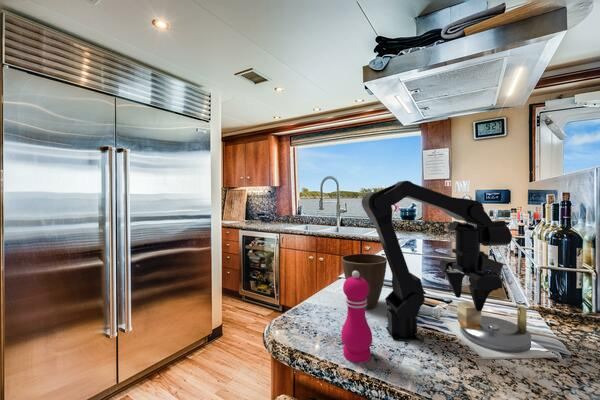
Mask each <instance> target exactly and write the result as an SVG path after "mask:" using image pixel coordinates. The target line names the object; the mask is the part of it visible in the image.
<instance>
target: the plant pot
mask: <svg viewBox="0 0 600 400" xmlns="http://www.w3.org/2000/svg"><path fill="white" fill-rule="evenodd" d="M341 263H342V269H343V273H344V274H343V275H344V277H345V281H346V280H347V279H348V278H350V277H353V276H352V272H353V271H358V272H359V274H360V276H359V277H361V278H363V279H364V280H365V281H366V282H367V283H368V285H369V294H368V295H367V296H366V298H367V306H365V310H372V309H375V308H376V307H377V305H378V302H379V300H380V296H381V295H382V289H383V286H384V282H385V276H386V273H387V272H386V271H387V265H388V261H387V258H386V256H383V255H379V254H378V255H377V254H374V253H372V254H371V253H351V254H348V255H347V254H346V255H343V256H342V257H341Z"/></svg>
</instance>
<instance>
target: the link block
mask: <svg viewBox="0 0 600 400" xmlns="http://www.w3.org/2000/svg"><path fill="white" fill-rule="evenodd" d="M456 303H457V304H456V305H457V307H456V310H457V312H456V314H457V316H456V319H457V320H460V321H461V322H463V323H464V324H465V325H481V316H482V311H477V310H476V308H475V305H474V302H473V301H457V302H456Z"/></svg>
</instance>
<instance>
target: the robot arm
mask: <svg viewBox="0 0 600 400" xmlns="http://www.w3.org/2000/svg"><path fill="white" fill-rule="evenodd" d="M405 198H407V199H411V200H413V201H416V202H419V203H421V204H424V205H426V206H427V205H428V206H430V207H433V208H436V209H439V210H441V211H443V212H444V213H445V214H447V215H448V216H449V217H451V218H453V219H455V220H453V221H452V223H451V224H449V225H448V226H447V230H451V231H455V232H454V233H455V236H454V237H455V241H454V242H455V248H452V250H451V252H452V253H453V254H455V259H454V258H452V259H451V258H449V259H448V258H446V259H443V258H442V259H441V260H440V261H439V269H440V270H442V273H443V274H444V276H445V278H446V280H447V281H448V284H449V285H450V286H449V287H450V289H452V292H453V293H454V296H455V297H456V298H457V299H458V298H461V297H462V290H463V289H462V288H463V279H464V278H465V276H467V277H468V282H469V284H468V288H469V292H470V295H471V299H472V302H473V303H474V305H475V308H476V310H477V311H481V312H482V311H483V308H484V305H485V304H486V301H487V299H488V297H489V295H490V294H491V293H492V292H493V291H498V290H499V289H504V281H503V280H504V279H502V278H501V277H500V276H499V275H501V272H502V270H503V268H504V267H503V266H504V264H505V263H503V262H500V261H497V260H493V259H491V258H489V254H486V253H485V251H483V250H481V245H482V246H484V247H492V246H493V247H494V246H495V247H496V246H497V247H498V246H499V247H501V246H508V245H509V244H510V243H512V241H513V240H512V239H513V234H512V232H511V229H510V228H509V227H508V226H507V225H506V221H505V220H500V219H499V220H498V219H496V220H492V218H490V216H489V215H488V214H487V212H486V210H485V208H484V204H483V203H482V202H481V201H479V200H475V199H474V200H473V199H467V198H459V197H453V196H449V195H447V194H444V193H441V192H438V191H436V190H433V189H430V188H426V187H425V186H421V185H419V184H415V183H413V182H412V181H411V180H401V181H398V182H396V183H394V184H393V185H390V186H388V187H385V188H383V189H381V190H378V191H370V192H367V193H365V195H364V196H363V197H362V199H361V206H362V209H363V211H364V212H365V213H366V215H367V217H368V219H369V220H370V221H371V222H372V224H373V226H374V227H375V229H376V233H377V235H378V238H379V241H380V243H381V247H382V249H383V250H382V251H383V252H384V256H385V258H387V265H388V266H389V269H390V272H391V274H392V275H391V286H392V290H391V292H389V294H388V295H387V296H385V298H384V301H385V303H386V305H387V306H388V307H389V308H388V309H387V326H386V327H385V329H386V331H387V332H388V335H390V337H391V338H392V340H394V341H411V340H413V341H414V340H419V337H418V335H417V334H418V315H419V313H420V311H421V307H422V306H423V304H424V303H425V302H426V301H425V300H426V297H425V295H426V294H427V293H426V291H425V289H424V287H423V283H422V279H421V278H419V277H418V276H417V275H415V274H413V273H411V272H410V270H409V266H408V264H407V261H406V259H405V256H404V254H403V253H404V252H403V249H402V247H401V244H400V242H399V239H398V236H397V232H396V230H395V228H394V225H393V208H392V206H393V205H396V204H398V203H399V202H401V201H402V200H403V199H405ZM460 221H463V222H464V223H461V222H460ZM474 225H476V226H474ZM494 273H495V274H494Z"/></svg>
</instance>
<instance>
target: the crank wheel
mask: <svg viewBox="0 0 600 400" xmlns="http://www.w3.org/2000/svg"><path fill="white" fill-rule="evenodd" d="M516 310H517V311H516V313H517V314H516V317H517V319H516V320H517V321H516V323H517V324H516V323H514V322H512V321H509V320H507V319H504V318H503V319H502V318H499V317H494V316H489V315H481V325H465V324H464V323H463V322H461V321H460V320H459V319H457V320H458V321H457V322H459V324H460V331H461V333H462V334H463V335H464V336H465V337H466V338H467V339H469V340H470V341H472V342H474V343H476V344H479V345H481V346H484V347H487V348H490V349H494V350H498V351H504V352H524V351H527V350H529V349H530V348H531V339H532V335H531V333H530V332H529V331H528V330H527V307H524V306H517V308H516Z"/></svg>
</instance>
